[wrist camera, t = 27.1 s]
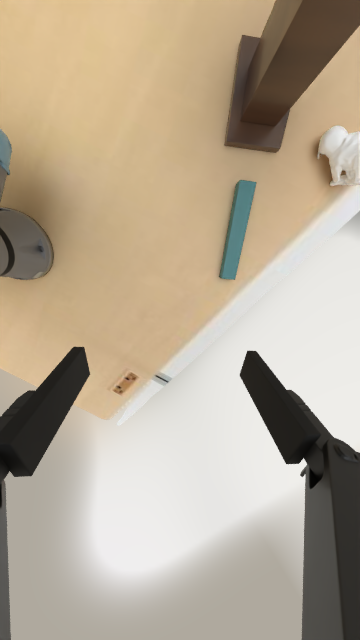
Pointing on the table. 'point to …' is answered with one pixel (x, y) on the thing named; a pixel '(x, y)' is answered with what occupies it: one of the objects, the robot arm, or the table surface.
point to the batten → (237, 228)
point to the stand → (284, 66)
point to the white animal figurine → (342, 155)
